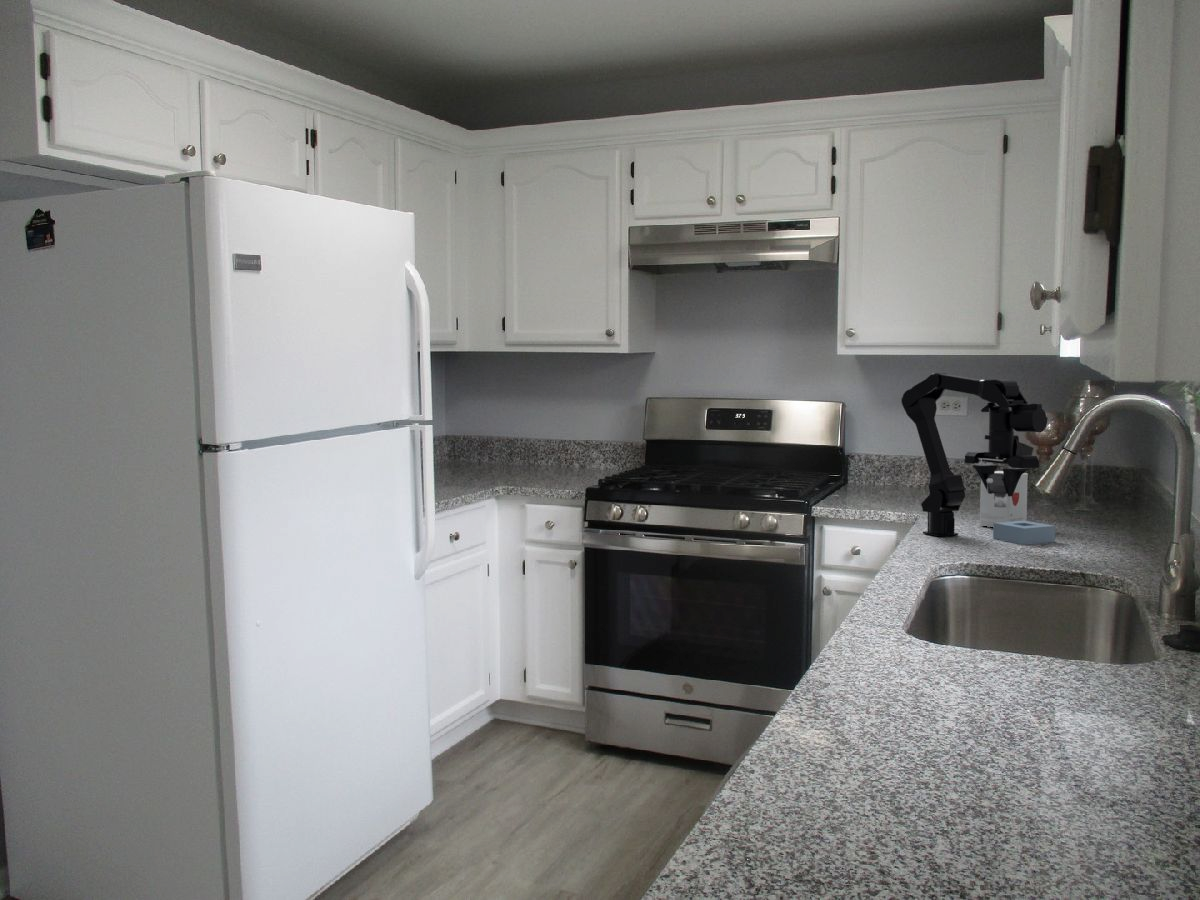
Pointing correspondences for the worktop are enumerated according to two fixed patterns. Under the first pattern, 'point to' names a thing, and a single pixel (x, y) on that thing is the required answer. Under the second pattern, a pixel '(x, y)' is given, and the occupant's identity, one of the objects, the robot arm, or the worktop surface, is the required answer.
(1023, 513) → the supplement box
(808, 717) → the worktop surface
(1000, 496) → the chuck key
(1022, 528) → the block
